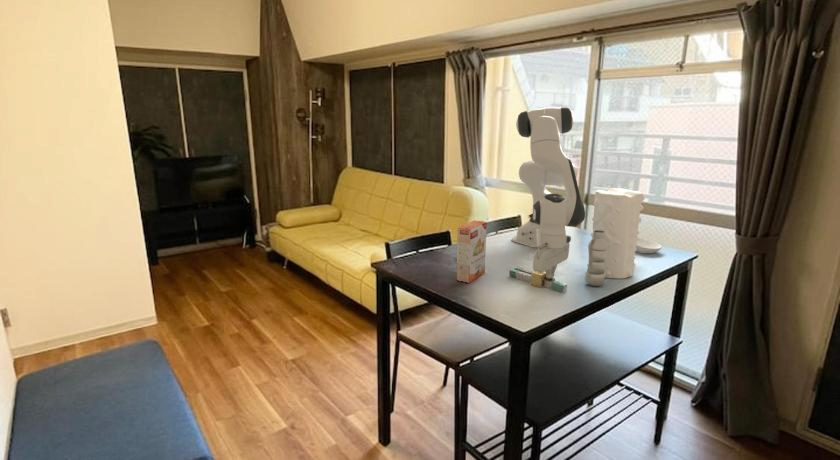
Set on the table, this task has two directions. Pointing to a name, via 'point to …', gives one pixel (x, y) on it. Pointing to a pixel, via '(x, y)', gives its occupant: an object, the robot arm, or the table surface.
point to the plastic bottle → (596, 259)
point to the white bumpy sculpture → (618, 228)
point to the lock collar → (537, 278)
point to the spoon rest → (647, 246)
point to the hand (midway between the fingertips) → (550, 277)
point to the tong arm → (526, 271)
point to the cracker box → (471, 251)
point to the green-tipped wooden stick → (545, 282)
